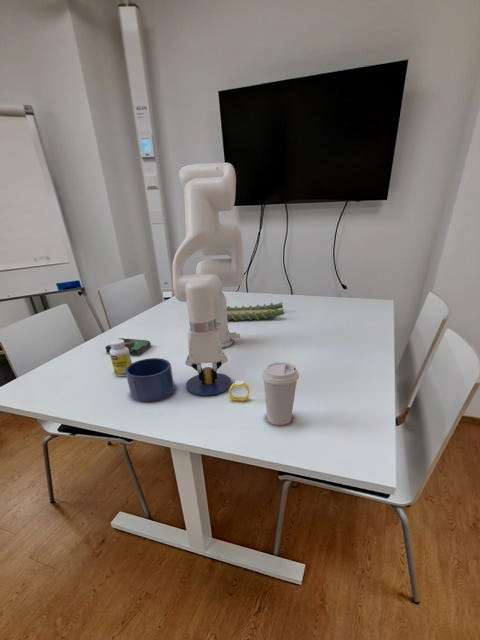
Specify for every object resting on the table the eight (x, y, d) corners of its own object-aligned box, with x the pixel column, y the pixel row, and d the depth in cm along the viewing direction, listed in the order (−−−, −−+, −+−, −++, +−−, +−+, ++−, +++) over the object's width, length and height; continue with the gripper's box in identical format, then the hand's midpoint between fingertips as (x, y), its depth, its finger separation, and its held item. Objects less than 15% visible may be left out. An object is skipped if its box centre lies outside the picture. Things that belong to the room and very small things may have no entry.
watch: (229, 402, 106) (227, 384, 103) (230, 397, 109) (228, 380, 105) (249, 402, 106) (248, 384, 102) (249, 397, 108) (249, 380, 105)
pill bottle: (111, 375, 125) (102, 344, 119) (122, 368, 130) (115, 337, 124) (126, 377, 123) (118, 346, 117) (137, 370, 128) (130, 339, 122)
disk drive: (106, 353, 143) (138, 356, 139) (104, 347, 141) (137, 349, 137) (120, 344, 151) (151, 346, 147) (119, 337, 149) (150, 339, 145)
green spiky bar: (282, 311, 178) (282, 301, 176) (284, 320, 166) (284, 309, 164) (202, 314, 181) (201, 304, 178) (198, 323, 169) (197, 313, 166)
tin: (175, 380, 120) (171, 356, 115) (172, 400, 109) (168, 375, 104) (135, 383, 119) (129, 359, 115) (128, 403, 108) (121, 378, 103)
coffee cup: (287, 432, 92) (289, 380, 84) (255, 422, 97) (254, 372, 88) (302, 414, 99) (305, 364, 90) (272, 406, 103) (272, 358, 95)
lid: (229, 374, 122) (228, 357, 119) (233, 394, 110) (231, 377, 107) (187, 377, 121) (185, 361, 118) (185, 398, 109) (183, 381, 106)
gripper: (229, 319, 108) (233, 374, 118) (175, 323, 107) (183, 378, 118) (231, 327, 102) (234, 384, 112) (174, 331, 101) (182, 389, 111)
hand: (208, 381), depth 115 cm, fingers closed on lid, 3 cm apart
